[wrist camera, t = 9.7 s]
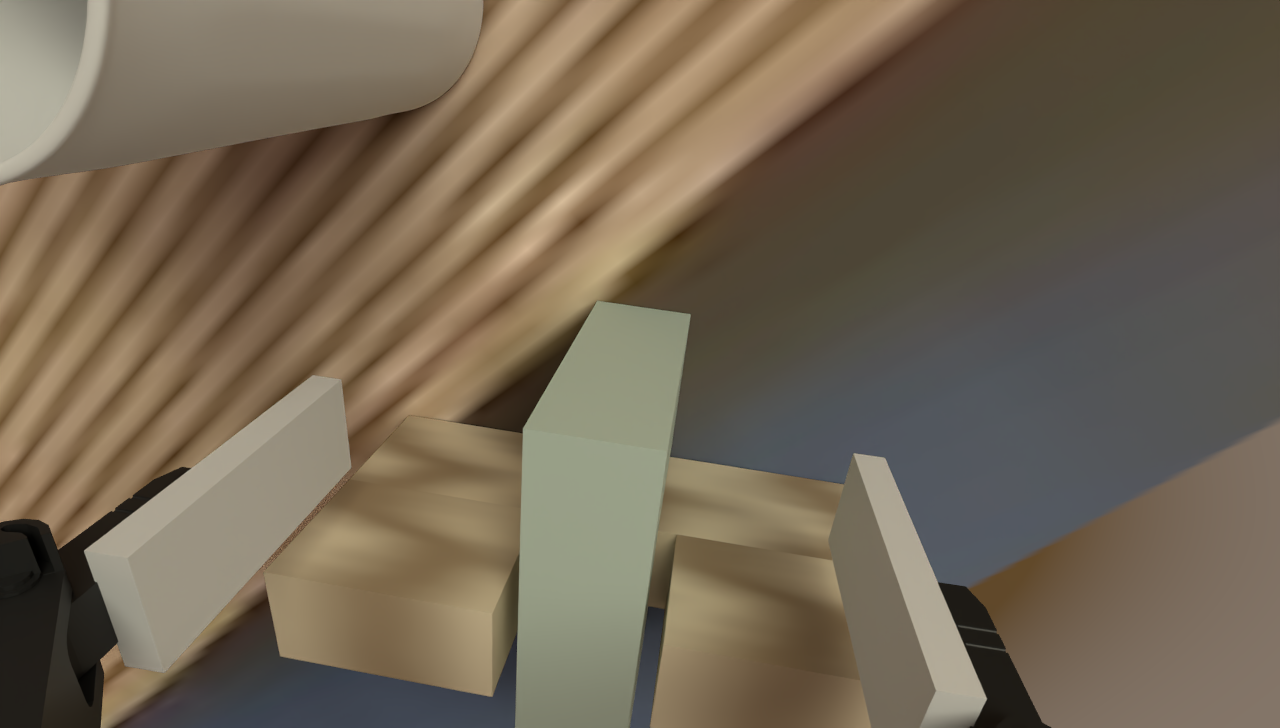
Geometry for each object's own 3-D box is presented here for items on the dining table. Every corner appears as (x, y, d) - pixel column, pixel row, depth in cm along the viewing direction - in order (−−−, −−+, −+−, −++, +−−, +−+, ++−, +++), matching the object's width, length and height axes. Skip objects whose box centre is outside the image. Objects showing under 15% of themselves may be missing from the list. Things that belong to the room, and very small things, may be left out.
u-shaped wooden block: (413, 483, 24) (280, 656, 17) (409, 415, 23) (263, 572, 16) (835, 553, 23) (882, 771, 16) (856, 486, 22) (916, 690, 15)
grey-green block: (572, 619, 26) (512, 826, 19) (597, 301, 20) (523, 428, 13) (644, 632, 26) (610, 847, 19) (690, 314, 20) (667, 451, 13)
